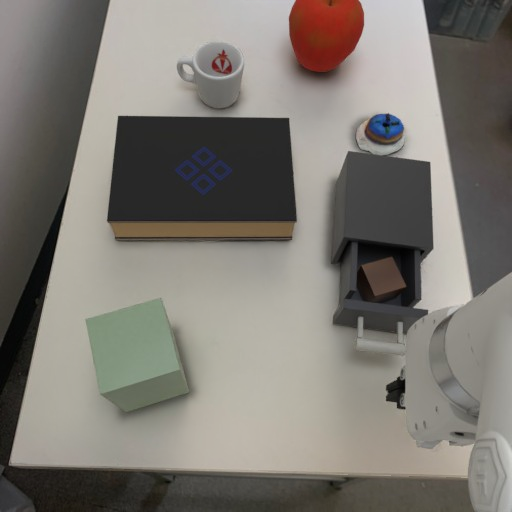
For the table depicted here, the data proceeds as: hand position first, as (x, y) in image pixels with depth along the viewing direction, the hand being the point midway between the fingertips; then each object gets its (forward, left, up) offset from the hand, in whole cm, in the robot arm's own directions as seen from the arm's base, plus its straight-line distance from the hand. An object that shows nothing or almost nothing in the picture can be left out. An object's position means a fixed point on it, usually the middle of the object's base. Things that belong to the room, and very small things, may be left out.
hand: (400, 395), depth 50 cm
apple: (+57, -15, -13) cm, 60 cm away
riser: (+13, +25, -13) cm, 31 cm away
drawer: (+13, -6, -12) cm, 19 cm away
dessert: (+39, -19, -13) cm, 46 cm away
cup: (+55, +5, -13) cm, 57 cm away
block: (+15, -7, -11) cm, 20 cm away
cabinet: (+24, -11, -13) cm, 30 cm away
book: (+37, +11, -13) cm, 41 cm away
